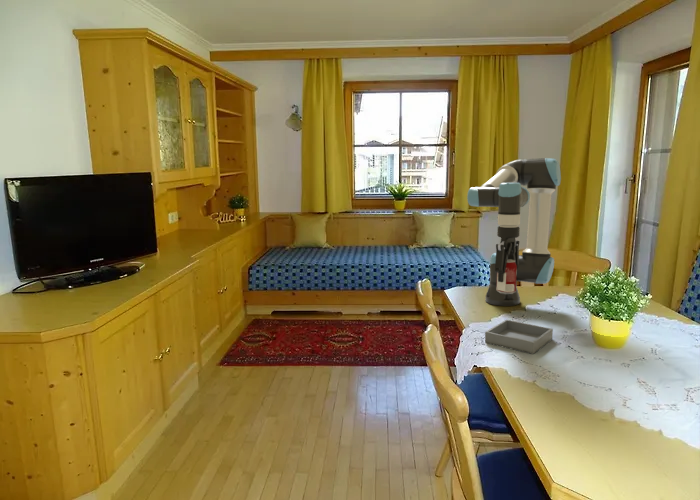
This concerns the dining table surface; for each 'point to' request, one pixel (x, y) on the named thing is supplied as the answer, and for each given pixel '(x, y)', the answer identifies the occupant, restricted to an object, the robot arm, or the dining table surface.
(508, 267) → the soda can
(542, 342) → the bin
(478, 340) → the dining table surface
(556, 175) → the robot arm
